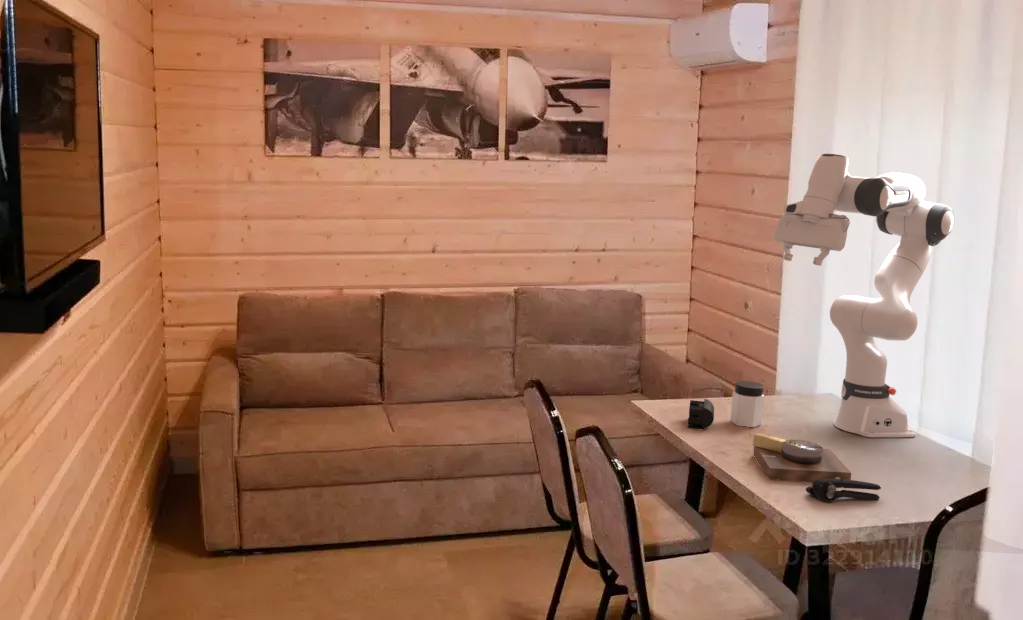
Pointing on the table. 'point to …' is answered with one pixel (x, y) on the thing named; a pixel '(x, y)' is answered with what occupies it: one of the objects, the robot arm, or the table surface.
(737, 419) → the jar
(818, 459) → the small frying pan
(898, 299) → the robot arm
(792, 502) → the table surface
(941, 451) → the table surface
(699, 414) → the end cap
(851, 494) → the can opener
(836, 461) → the base
